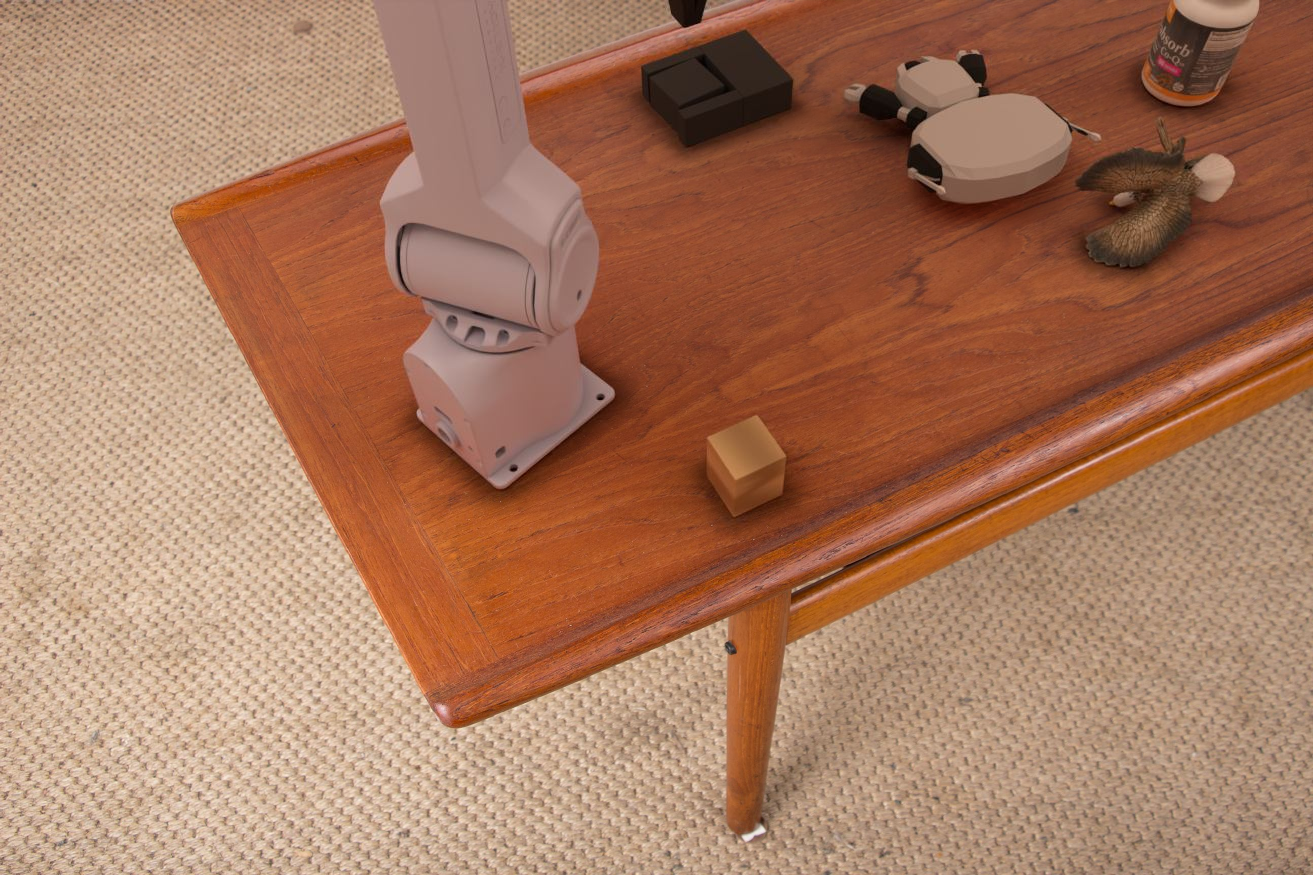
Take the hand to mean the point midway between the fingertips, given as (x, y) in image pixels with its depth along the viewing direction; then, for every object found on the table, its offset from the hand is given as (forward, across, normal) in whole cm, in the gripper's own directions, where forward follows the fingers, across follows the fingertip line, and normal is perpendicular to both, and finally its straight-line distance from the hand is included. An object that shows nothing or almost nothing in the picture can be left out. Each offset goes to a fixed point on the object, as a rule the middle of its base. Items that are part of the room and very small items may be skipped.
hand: (686, 18), depth 74 cm
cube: (+8, +13, +31) cm, 34 cm away
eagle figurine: (+8, -21, +25) cm, 33 cm away
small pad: (+8, 0, 0) cm, 8 cm away
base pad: (+8, -2, 0) cm, 8 cm away
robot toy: (+8, -15, +13) cm, 21 cm away
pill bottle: (+8, -33, +16) cm, 38 cm away
